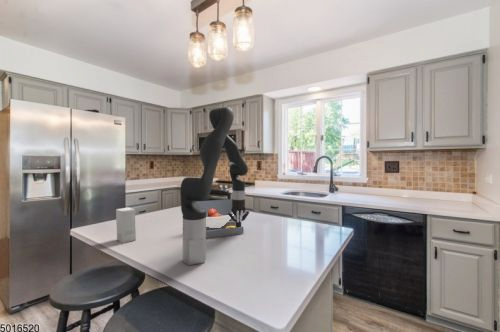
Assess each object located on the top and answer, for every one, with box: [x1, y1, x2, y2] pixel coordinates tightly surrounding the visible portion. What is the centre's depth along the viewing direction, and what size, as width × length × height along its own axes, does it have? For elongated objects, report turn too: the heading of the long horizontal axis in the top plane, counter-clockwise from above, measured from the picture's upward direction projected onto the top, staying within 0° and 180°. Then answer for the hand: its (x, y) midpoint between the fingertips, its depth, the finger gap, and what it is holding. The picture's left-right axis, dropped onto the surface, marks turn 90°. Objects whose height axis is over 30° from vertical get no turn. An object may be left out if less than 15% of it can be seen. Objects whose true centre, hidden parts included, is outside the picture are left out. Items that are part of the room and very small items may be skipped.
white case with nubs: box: [206, 221, 244, 239], centre depth 131 cm, size 13×24×4 cm, turn 114°
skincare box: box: [115, 206, 137, 244], centre depth 117 cm, size 8×7×16 cm
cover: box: [195, 198, 235, 222], centre depth 138 cm, size 13×24×1 cm
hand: (238, 228), depth 135 cm, fingers closed
